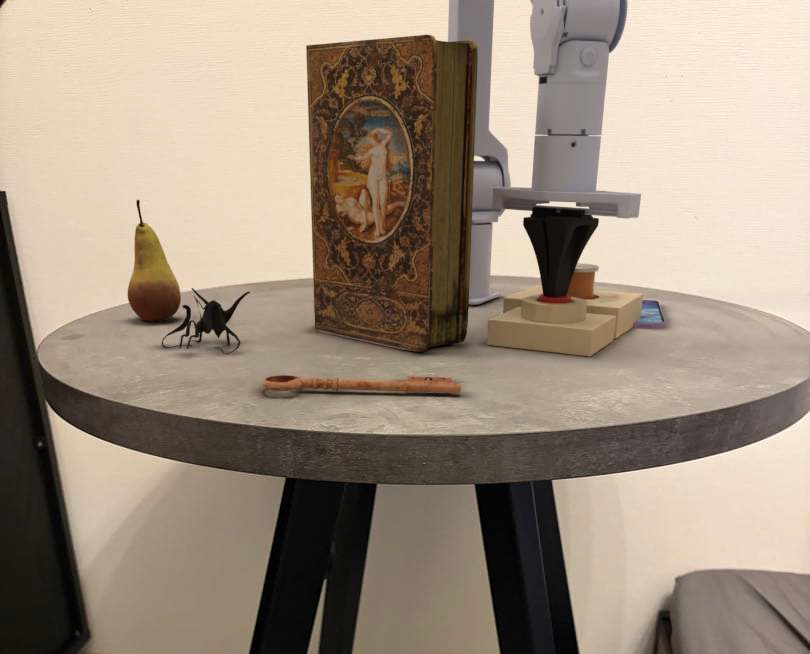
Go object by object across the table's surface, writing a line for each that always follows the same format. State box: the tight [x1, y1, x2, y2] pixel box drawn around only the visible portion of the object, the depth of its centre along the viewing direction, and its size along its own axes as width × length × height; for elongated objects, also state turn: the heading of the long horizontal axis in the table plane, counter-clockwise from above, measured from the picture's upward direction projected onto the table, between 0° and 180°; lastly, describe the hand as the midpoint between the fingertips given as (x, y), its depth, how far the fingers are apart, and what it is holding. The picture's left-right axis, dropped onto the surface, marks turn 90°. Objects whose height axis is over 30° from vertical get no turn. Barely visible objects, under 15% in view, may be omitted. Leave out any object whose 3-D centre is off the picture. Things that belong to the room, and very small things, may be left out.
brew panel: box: [486, 295, 616, 357], centre depth 82 cm, size 10×8×4 cm
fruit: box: [127, 199, 182, 322], centre depth 89 cm, size 6×6×12 cm
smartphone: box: [631, 299, 666, 330], centre depth 97 cm, size 7×1×15 cm
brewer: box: [502, 284, 644, 340], centre depth 91 cm, size 12×10×3 cm
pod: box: [567, 262, 600, 300], centre depth 90 cm, size 4×4×6 cm
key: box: [262, 374, 462, 394], centre depth 66 cm, size 6×1×15 cm
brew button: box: [538, 294, 571, 303], centre depth 82 cm, size 3×3×2 cm
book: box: [305, 34, 478, 353], centre depth 79 cm, size 16×6×25 cm, turn 47°
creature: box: [161, 287, 251, 355], centre depth 79 cm, size 8×5×8 cm
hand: (554, 295), depth 81 cm, fingers closed, pressing on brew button
